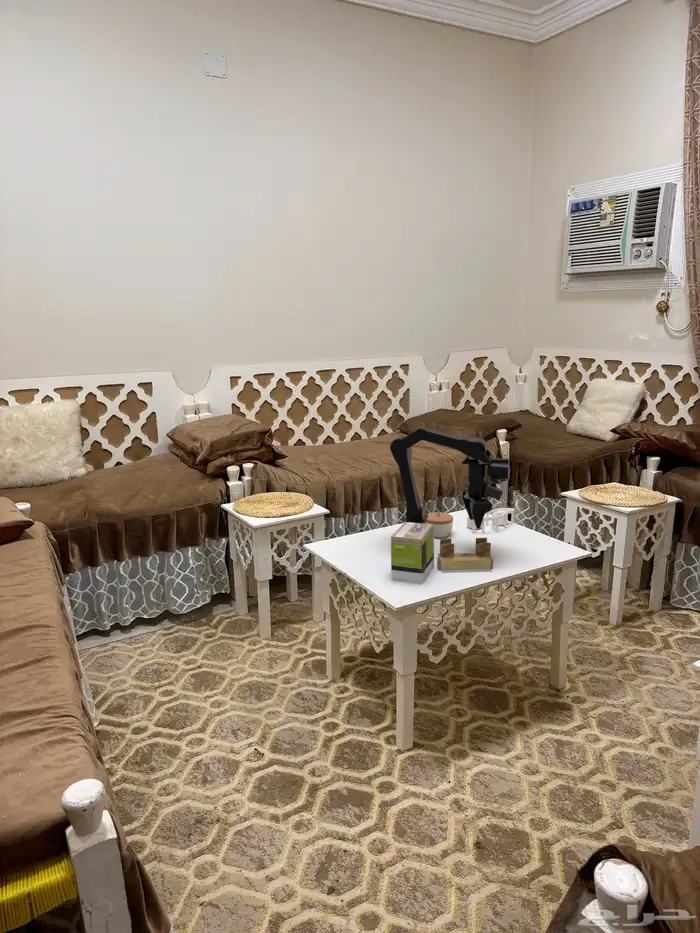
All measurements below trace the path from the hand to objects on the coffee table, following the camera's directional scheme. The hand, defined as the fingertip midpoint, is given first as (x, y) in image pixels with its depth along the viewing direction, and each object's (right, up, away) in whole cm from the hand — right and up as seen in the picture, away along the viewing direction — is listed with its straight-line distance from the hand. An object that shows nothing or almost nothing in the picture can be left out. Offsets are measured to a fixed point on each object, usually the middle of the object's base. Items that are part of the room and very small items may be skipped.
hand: (474, 523), depth 213 cm
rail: (-4, -13, -6) cm, 16 cm away
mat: (-4, -14, -6) cm, 16 cm away
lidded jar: (-9, -7, +24) cm, 26 cm away
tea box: (-21, -15, -10) cm, 28 cm away
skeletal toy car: (+12, -6, +30) cm, 33 cm away
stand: (-3, -12, +3) cm, 12 cm away
